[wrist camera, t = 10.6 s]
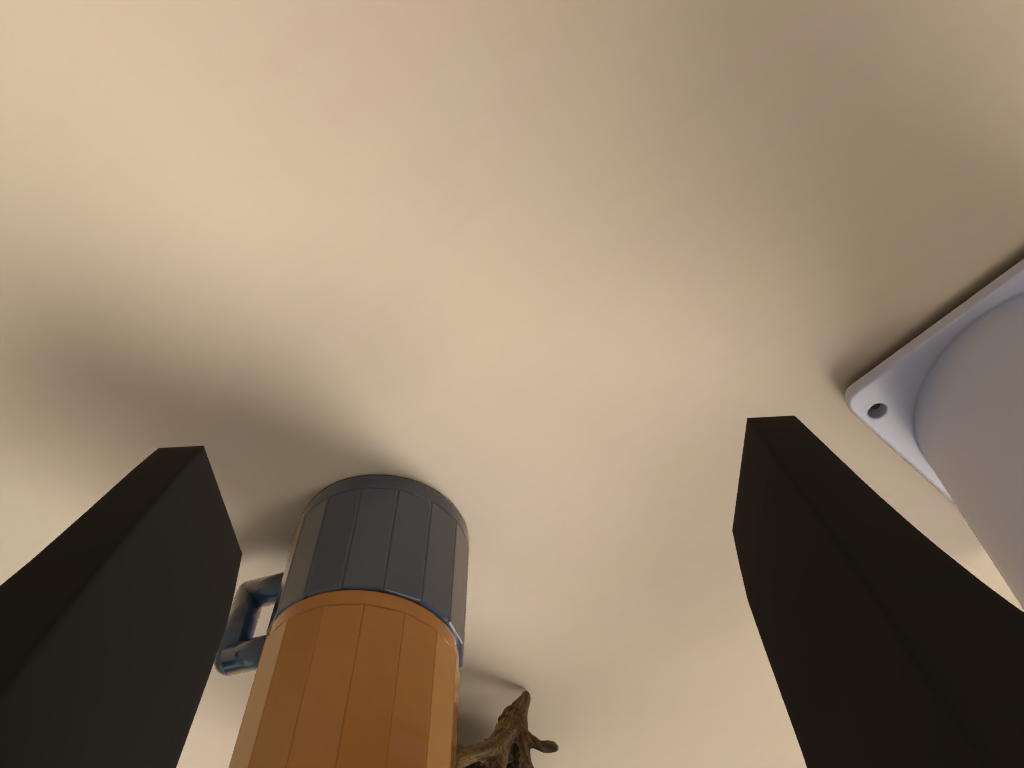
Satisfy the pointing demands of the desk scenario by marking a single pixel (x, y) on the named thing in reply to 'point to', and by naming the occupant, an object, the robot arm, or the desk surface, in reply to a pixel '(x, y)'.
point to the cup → (361, 560)
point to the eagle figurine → (506, 742)
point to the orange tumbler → (353, 687)
